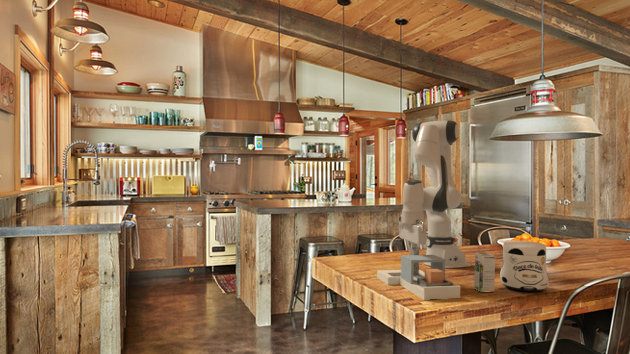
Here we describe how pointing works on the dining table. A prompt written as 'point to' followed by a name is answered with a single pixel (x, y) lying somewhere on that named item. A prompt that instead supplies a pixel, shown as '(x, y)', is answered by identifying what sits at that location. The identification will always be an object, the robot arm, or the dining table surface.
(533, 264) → the milk container
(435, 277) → the block
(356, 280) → the dining table surface
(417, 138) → the robot arm
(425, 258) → the tunnel
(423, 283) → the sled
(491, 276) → the syrup box
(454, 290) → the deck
